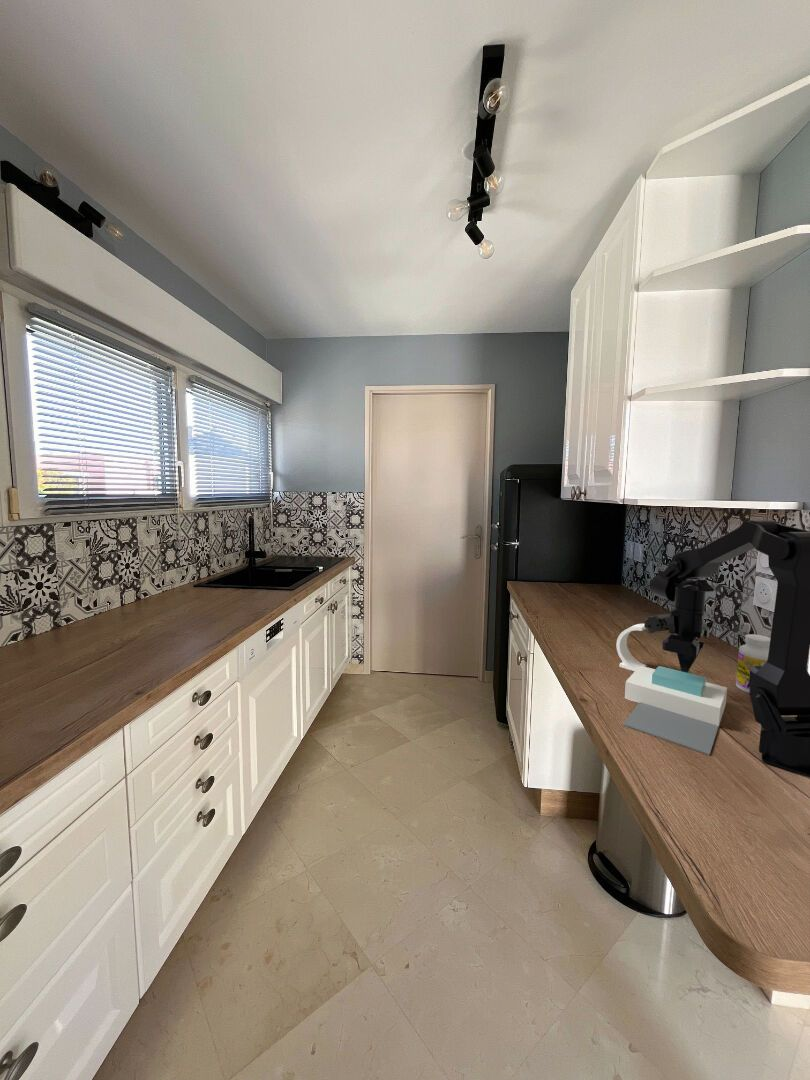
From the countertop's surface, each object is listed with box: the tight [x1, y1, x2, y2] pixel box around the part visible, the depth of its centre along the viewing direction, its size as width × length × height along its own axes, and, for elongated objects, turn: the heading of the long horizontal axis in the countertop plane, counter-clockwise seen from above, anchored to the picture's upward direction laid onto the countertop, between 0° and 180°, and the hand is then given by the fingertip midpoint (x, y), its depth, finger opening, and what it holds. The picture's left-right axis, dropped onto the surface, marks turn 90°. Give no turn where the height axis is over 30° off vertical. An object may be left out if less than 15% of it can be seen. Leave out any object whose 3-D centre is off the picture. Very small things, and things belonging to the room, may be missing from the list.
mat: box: [622, 702, 720, 756], centre depth 81 cm, size 14×12×1 cm
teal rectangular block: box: [652, 665, 707, 697], centre depth 90 cm, size 9×6×2 cm, turn 47°
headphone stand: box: [615, 623, 647, 672], centre depth 109 cm, size 5×6×12 cm
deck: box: [624, 666, 728, 727], centre depth 91 cm, size 17×12×4 cm
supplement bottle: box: [735, 633, 771, 694], centre depth 96 cm, size 7×7×13 cm
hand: (684, 672), depth 95 cm, fingers closed
